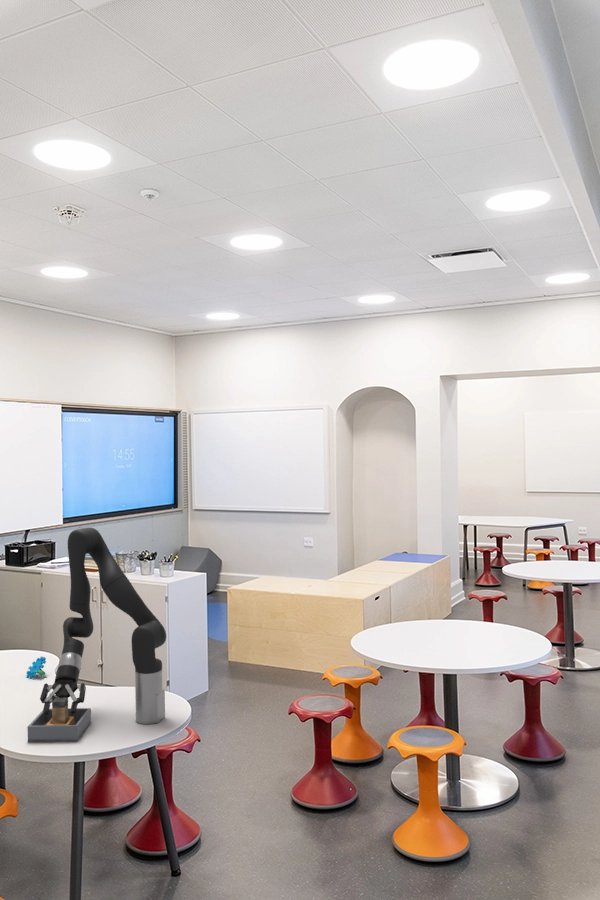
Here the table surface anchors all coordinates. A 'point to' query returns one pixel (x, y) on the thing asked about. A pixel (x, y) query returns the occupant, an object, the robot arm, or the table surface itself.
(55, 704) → the plug
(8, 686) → the table surface
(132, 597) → the robot arm
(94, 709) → the table surface
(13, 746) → the table surface
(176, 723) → the table surface
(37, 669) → the blue lumpy cluster
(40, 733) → the box
